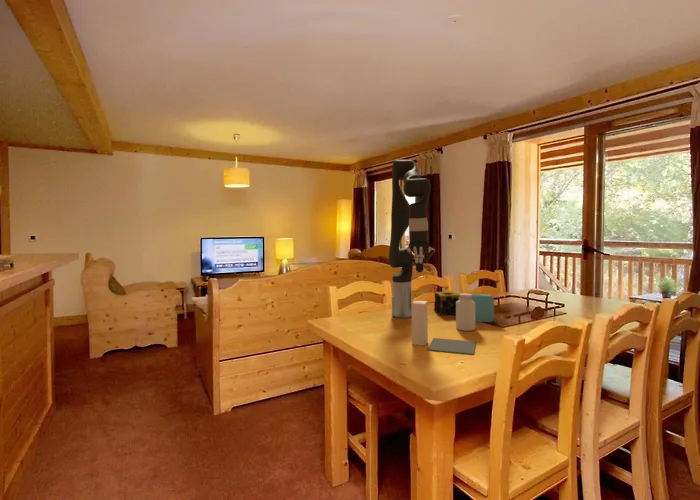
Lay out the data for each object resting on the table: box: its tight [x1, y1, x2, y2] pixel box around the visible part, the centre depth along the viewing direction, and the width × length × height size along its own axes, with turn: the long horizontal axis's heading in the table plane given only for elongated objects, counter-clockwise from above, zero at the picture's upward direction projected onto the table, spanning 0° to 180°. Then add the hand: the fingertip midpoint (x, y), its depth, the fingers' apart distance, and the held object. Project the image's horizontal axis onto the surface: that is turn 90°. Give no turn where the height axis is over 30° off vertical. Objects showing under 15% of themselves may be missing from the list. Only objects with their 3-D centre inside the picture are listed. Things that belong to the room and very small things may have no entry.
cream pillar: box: [411, 300, 429, 347], centre depth 146 cm, size 5×5×16 cm
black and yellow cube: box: [433, 290, 460, 316], centre depth 193 cm, size 10×10×10 cm
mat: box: [427, 337, 477, 355], centre depth 142 cm, size 16×14×1 cm
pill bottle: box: [455, 292, 476, 332], centre depth 164 cm, size 8×8×15 cm
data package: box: [471, 293, 495, 323], centre depth 177 cm, size 12×4×12 cm, turn 81°
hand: (419, 272), depth 155 cm, fingers closed
